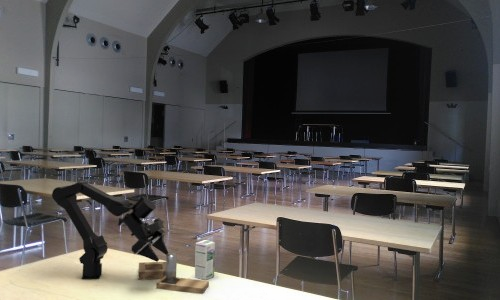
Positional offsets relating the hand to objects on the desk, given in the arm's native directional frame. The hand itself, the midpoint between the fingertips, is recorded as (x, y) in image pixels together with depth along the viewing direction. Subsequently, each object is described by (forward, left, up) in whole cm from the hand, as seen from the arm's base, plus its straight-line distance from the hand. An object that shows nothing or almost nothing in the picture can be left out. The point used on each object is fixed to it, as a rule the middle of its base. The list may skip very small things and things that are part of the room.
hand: (162, 257), depth 160 cm
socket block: (-3, +13, -11) cm, 17 cm away
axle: (+3, -1, -11) cm, 11 cm away
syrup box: (+17, +7, -11) cm, 21 cm away
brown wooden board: (+8, -3, -11) cm, 14 cm away
